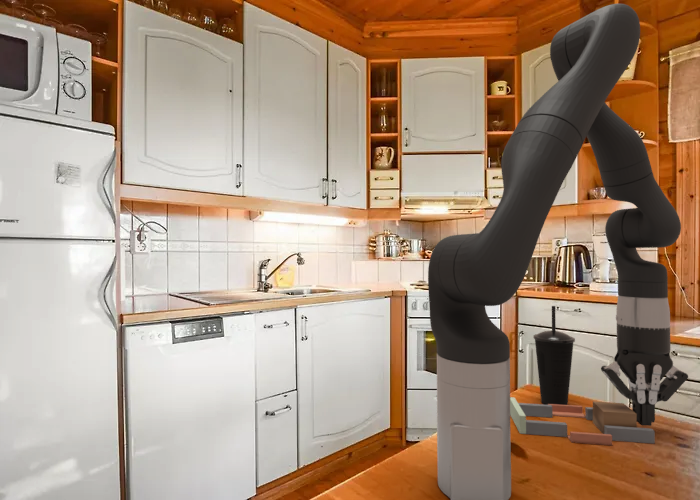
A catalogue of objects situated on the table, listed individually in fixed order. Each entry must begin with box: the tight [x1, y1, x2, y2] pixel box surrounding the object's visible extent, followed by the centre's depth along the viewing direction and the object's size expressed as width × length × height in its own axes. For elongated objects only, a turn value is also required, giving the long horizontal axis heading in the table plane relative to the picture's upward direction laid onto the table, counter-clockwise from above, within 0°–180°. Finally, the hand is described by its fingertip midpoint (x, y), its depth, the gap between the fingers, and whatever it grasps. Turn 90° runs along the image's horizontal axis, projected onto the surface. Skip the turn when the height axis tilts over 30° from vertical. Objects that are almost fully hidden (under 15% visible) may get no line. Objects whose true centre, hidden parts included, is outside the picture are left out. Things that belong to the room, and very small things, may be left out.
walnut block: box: [592, 400, 638, 434], centre depth 71 cm, size 5×5×4 cm
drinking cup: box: [533, 305, 576, 405], centre depth 84 cm, size 8×8×20 cm
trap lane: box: [518, 402, 656, 446], centre depth 72 cm, size 13×20×2 cm
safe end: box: [510, 396, 527, 435], centre depth 74 cm, size 9×1×3 cm, turn 169°
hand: (643, 423), depth 70 cm, fingers closed
